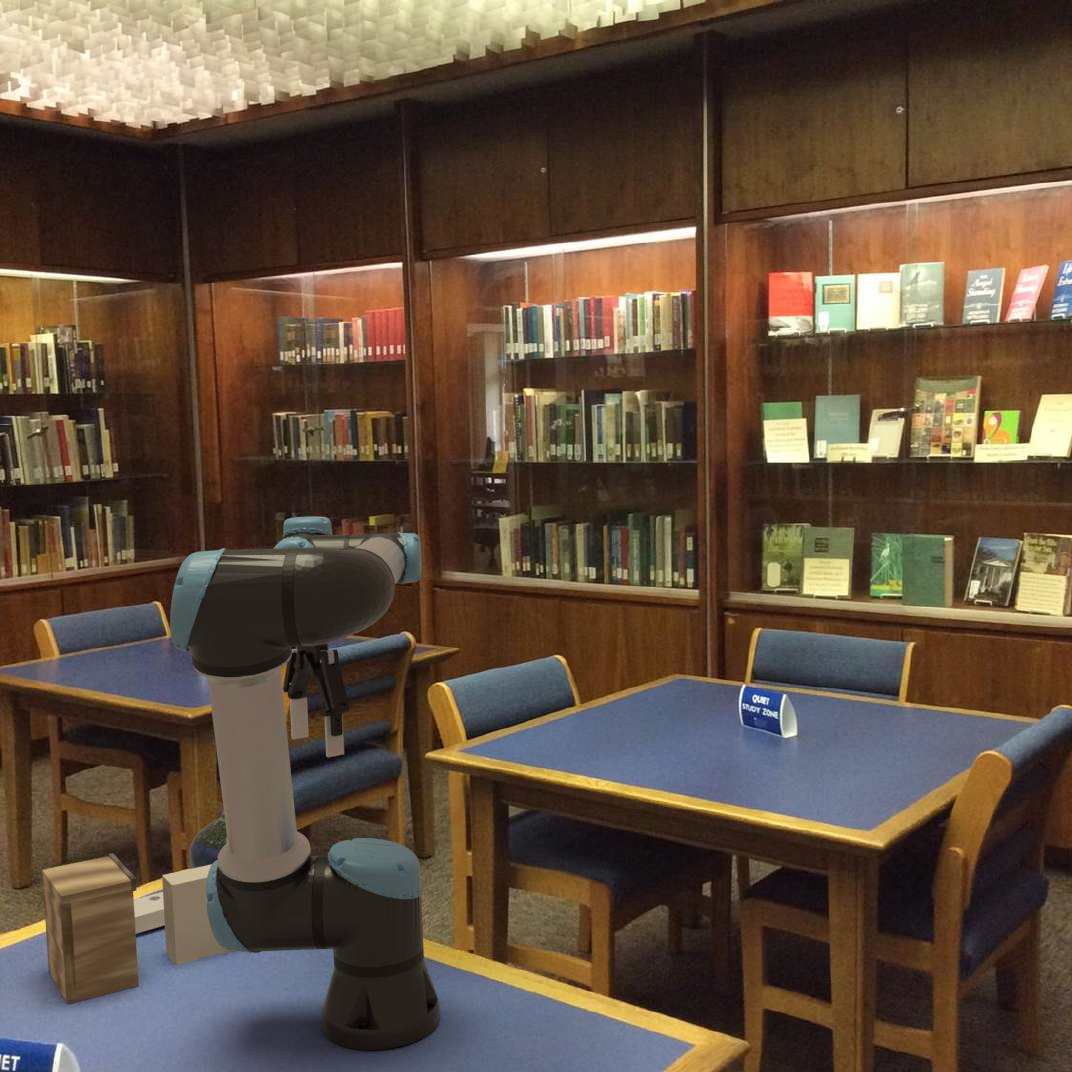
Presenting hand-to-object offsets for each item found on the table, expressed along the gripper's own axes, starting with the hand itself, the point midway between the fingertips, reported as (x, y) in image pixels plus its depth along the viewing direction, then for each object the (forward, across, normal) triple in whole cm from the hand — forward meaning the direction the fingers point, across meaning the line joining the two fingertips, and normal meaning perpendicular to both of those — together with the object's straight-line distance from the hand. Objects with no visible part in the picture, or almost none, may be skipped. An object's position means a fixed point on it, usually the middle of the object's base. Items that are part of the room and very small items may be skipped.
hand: (317, 746), depth 197 cm
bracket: (+27, +11, +27) cm, 40 cm away
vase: (+27, +18, +8) cm, 34 cm away
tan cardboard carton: (+27, -4, +21) cm, 34 cm away
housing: (+27, -3, +37) cm, 46 cm away
